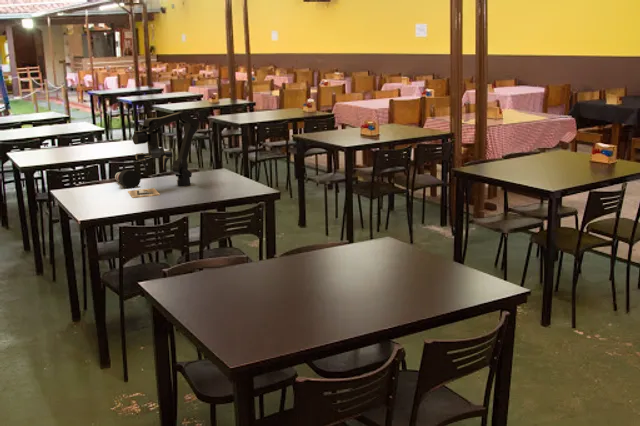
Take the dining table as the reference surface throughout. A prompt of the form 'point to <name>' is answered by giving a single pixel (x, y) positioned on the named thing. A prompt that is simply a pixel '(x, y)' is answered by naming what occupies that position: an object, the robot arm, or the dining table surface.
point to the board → (137, 195)
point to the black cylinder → (128, 178)
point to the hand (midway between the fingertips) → (155, 171)
